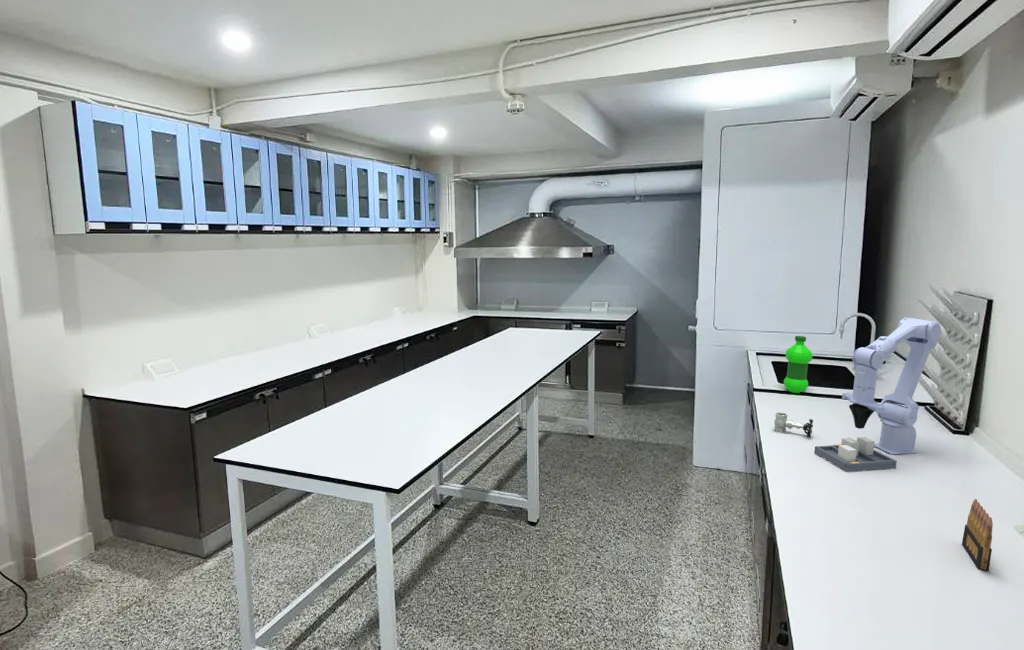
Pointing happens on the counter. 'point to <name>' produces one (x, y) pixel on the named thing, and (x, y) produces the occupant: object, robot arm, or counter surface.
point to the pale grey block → (866, 445)
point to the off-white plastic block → (847, 453)
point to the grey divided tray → (861, 460)
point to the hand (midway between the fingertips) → (859, 427)
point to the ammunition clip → (978, 536)
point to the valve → (790, 424)
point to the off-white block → (851, 443)
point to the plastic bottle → (797, 366)
